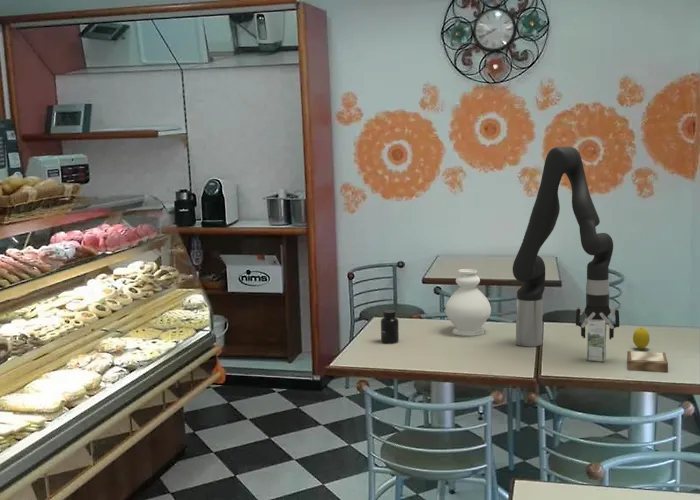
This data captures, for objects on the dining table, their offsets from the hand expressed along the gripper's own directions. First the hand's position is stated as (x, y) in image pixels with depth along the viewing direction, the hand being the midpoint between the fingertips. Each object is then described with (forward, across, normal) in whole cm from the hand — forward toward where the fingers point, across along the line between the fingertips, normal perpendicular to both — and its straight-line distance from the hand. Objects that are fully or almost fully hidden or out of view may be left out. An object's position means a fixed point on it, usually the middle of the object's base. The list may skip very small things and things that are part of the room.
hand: (597, 338), depth 264 cm
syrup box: (+8, 0, 0) cm, 8 cm away
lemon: (+8, +15, +16) cm, 23 cm away
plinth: (+8, +16, -4) cm, 18 cm away
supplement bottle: (+7, -76, +9) cm, 77 cm away
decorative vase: (+7, -49, +29) cm, 58 cm away
